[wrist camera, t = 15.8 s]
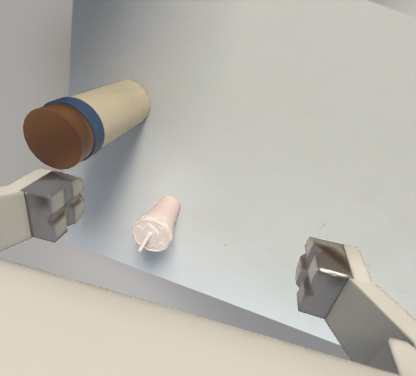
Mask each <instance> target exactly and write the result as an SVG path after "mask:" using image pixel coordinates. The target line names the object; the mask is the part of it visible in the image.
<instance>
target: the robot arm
mask: <svg viewBox="0 0 416 376" xmlns="http://www.w3.org/2000/svg"><path fill="white" fill-rule="evenodd" d="M83 190H84V185H83V180H82V179H81V178H79V177H75V176H71V175H68V174H64V173H61V172H57V171H53V170H49V169H45V168H37V169H36V170H34V171H32V172H30V173H29V174H27V175H25V176H23V177H21V178H20V179H18V180H16V181H15V182H13V183H11V184H9V185H7V186H0V251H2V250H4V249H7V248H9V247H12V246H14V245H16V244H19V243H21V242H23V241H26V240H28V239H30V238H32V237H35V238H39V239H43V240H47V241H51V242H56V241H57V240H58V239H59V238H60V237H61V236H63V235H64V234H65V233H66V232H67V226H69V225H72V224H75V223H76V222H77V221H78V220H79V219H80V218H81V216H82V214H83V212H84V207H85V199H84V198H83V197H82V195H81V194H80V193H81V192H82V191H83ZM305 251H306V253H305V254H304V255H302V256H301V257H300V259H299V262H298V265H297V269H296V284H297V285H298V287H299V290H298V292H297V303H298V311H300V312H304V313H307V314H310V315H313V316H316V317H320V318H323V319H325V321H326V323H327V324H328V326H329V327H330V329H331V330H332V332H333V334H334V335H335V337H336V338H337V340H338V341H339V343H340V344H341V346H342V347H343V349H344V350H345V352H346V354H347V355H348V357H349V358H350V360H351V361H350V360H347V359H343V358H340V357H337V356H333V355H330V354H326V353H323V352H320V351H316V350H313V349H309V348H306V347H302V346H299V345H295V344H292V343H288V342H285V341H281V340H278V339H274V338H271V337H268V336H265V335H261V334H258V333H254V332H251V331H248V330H244V329H241V328H237V327H234V326H230V325H227V324H223V323H220V322H217V321H213V320H210V319H207V318H203V317H200V316H197V315H193V314H190V313H186V312H183V311H180V310H176V309H173V308H169V307H166V306H163V305H159V304H156V303H152V302H149V301H145V300H142V299H139V298H135V297H132V296H128V295H125V294H121V293H118V292H115V291H111V290H108V289H104V288H101V287H97V286H94V285H91V284H87V283H83V282H80V281H77V280H73V279H70V278H66V277H63V276H60V275H56V274H53V273H50V272H46V271H43V270H39V269H36V268H32V267H29V266H25V265H22V264H19V263H15V262H12V261H9V260H5V259H1V258H0V376H416V320H415V319H414V318H413V317H412V316H411V315H410V314H409V313H408V312H407V311H405V310H404V309H403V308H402V307H401V306H400V305H399V304H398V303H397V302H396V301H394V300H393V299H392V298H391V297H390V296H389V295H388V294H387V293H386V292H385V291H384V290H382V289H381V288H380V287H379V286H378V285H375V284H373V283H372V280H371V278H370V275H369V273H368V270H367V268H366V265H365V263H364V260H363V258H362V255H361V253H360V250H359V249H358V248H357V247H353V246H348V245H344V244H338V243H334V242H330V241H326V240H321V239H317V238H313V237H310V238H309V239H308V240H307V243H306V245H305Z"/></svg>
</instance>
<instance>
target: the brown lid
mask: <svg viewBox="0 0 416 376" xmlns="http://www.w3.org/2000/svg"><path fill="white" fill-rule="evenodd" d="M23 130H24V137H25V140H26V142H27V144H28V146H29V148H30V150H31V151H32V152H33V154H34V155H35V156H36V157H37V158H38V159H39V160H40V161H42V162H43V163H44V164H46V165H48V166H50V167H53V168H56V169H69V168H71V167H73V166H75V165H76V164H78V163H79V162H81V161H82V160H84V159H85V158H87V157H88V156H89V155H90V154H91V152H92V150H93V146H94V136H93V132H92V129H91V127H90V124H89V123H88V121H87V120H86V118H85V117H84V116H83V115H82V114H81V113H80V112H79V111H78V110H76V109H75V108H73V107H71V106H69V105H66V104H62V103H53V104H50V105H47V106H44V107H41V108H38V109H35V110H33V111H31V112H30V113H29V114H28V115H27V117H26V118H25V121H24V125H23Z"/></svg>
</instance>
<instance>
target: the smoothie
mask: <svg viewBox="0 0 416 376" xmlns="http://www.w3.org/2000/svg"><path fill="white" fill-rule="evenodd" d="M179 209H180V203H179V201H178V200H177V199H176V198H175V197H173V196H165V197H163V198H162V199H161V200H160V201H159V202H158V203H157V204H156V205H155V206H154V207H153V208H152V209H151V210H150V211H149V212H148V213H147V214H146V215H145V216H143V217H141V218H139V219H138V220H137V221H136V223H135V224H134V226H133V228H132V234H133V237H134V239H135V241H136V242H137V244H138V245H140V247H139V248H138V250H137V252H138V253H141V251H142V249H143V248H144V249H146V250H148V251H152V252H160V251H163V250H165V249H166V248H167V247H168V246H169V244H170V243H171V241H172V232H173V229H174V225H175V222H176V219H177V216H178V212H179Z"/></svg>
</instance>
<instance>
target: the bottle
mask: <svg viewBox="0 0 416 376" xmlns="http://www.w3.org/2000/svg"><path fill="white" fill-rule="evenodd" d="M53 103H62V104H66V105H69V106H71V107H73V108H75V109H76V110H78V111H79V112H80V113H81V114H82V115H83V116H84V117H85V118H86V120H87V121H88V123H89V124H90V127H91V129H92V132H93V136H94V146H93V150H92V152H91V154H90V155H89V156H88V157H87V158H85V159H84V160H86V159H88V158H89V157H91V156H92V155H94V154H95V153H97V152H98V151H99V150H100V149H101V148H103V147H104V146H106V145H107V144H109V143H110V142H112V141H113V140H115V139H116V138H118V137H119V136H121V135H122V134H124V133H125V132H127V131H128V130H130V129H131V128H133V127H134V126H136V125H137V124H139V123H140V122H142V121H143V120H144V119H145V118H146V117H147V115H148V113H149V110H150V101H149V97H148V95H147V93H146V91H145V90H144V89H143V87H142V86H140V85H139V84H138V83H136V82H134V81H131V80H121V81H118V82H114V83H111V84H108V85H105V86H102V87H98V88H95V89H92V90H89V91H86V92H82V93H79V94H76V95H73V96H70V97H63V98H60V99H57V100H54V101H51V102H48V103H46V104H45V105H44V106H47V105H50V104H53ZM44 106H43V107H44ZM84 160H82V161H84Z"/></svg>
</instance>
